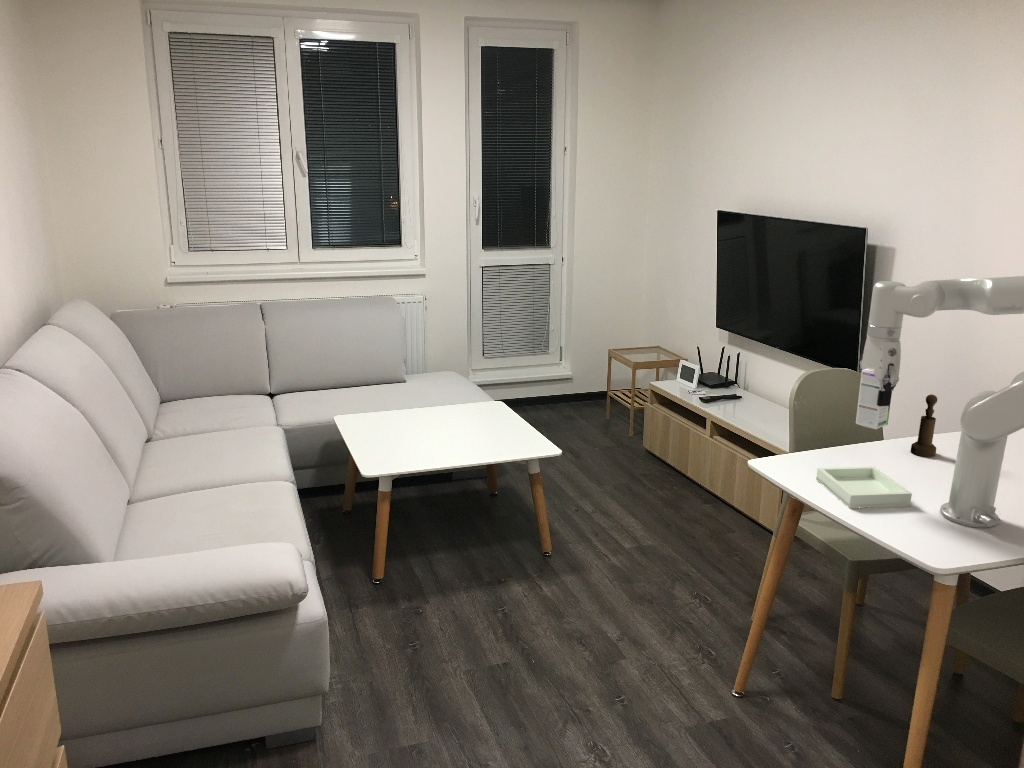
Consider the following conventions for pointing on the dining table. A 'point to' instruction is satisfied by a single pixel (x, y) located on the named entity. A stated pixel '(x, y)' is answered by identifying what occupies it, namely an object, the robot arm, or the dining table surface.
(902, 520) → the dining table surface
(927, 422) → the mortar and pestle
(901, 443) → the dining table surface
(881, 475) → the tray
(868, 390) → the syrup box
